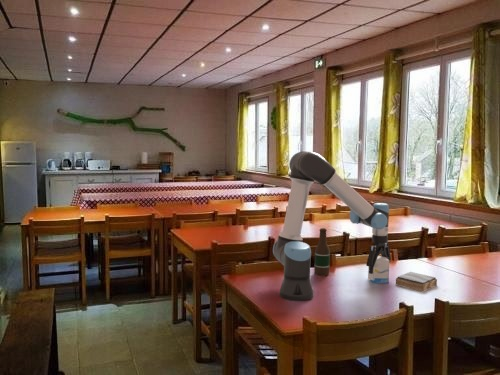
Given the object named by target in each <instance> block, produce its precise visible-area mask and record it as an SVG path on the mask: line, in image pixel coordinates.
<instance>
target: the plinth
mask: <svg viewBox="0 0 500 375" xmlns="http://www.w3.org/2000/svg"><path fill="white" fill-rule="evenodd" d="M437 284H438V279H437V278H436V277H434V276H431V275H426V274H421V273H418V272H413V271H409V272H406V273H404V274H401V275H398V276H397V277H395V286H399V287H404V288H407V289H412V290H414V291H415V290H416V291H420V292H422V291H423V292H425V291H428V290H429V289H432V288H434V287H436V286H437Z"/></svg>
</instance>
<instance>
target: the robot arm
mask: <svg viewBox="0 0 500 375" xmlns="http://www.w3.org/2000/svg"><path fill="white" fill-rule="evenodd" d="M288 165H289V169H290V174H289V180H290V181H291V186H290V191H289V197H288V202H287V208H286V212H285V218H284V222H283V223H284V224H283V227H282V231H281V232H280V233H278V236H277V240H276V241H275V242H274V243H273V247H272V253H273V256H274V258H275V260H277V261H278V263H280V264H281V265H283V280H282V283H281V285H280V289H279V296H280V297H281V298H282V299H285V300H287V301H295V302H303V301H308V300H309V301H310V300H311V299H313V298H314V293H315V292H314V289H313V285H312V281H311V258H312V249H311V246H310V245H309V244H308V243H306V242H303V237H302V235H301V233H302V228H303V223H304V218H305V214H306V208H307V203H308V198H309V193H310V189H311V185H312V184H314V183H315V182H316V183H317V184H319V185H320V186H325V188H327V189H328V190H329V191H330V192H331V193H332V194H333V195H334V196H336V198H337V199H339V200H340V201H341V202H342V203H344V204H345V206H347V207H348V208H349V209H350V211H349V220H350V222H351V223H352V224H357V225H358V224H360V225H361V224H362V225H364V226H368V227H370V228H372V229H371V230H372V235H371V242H372V243H373V245H370V246H369V252H368V256H367V261H366V267H369V279H370V280H373V281H374V278H375V267H374V265H375V262H376V260H377V257H378V256H380V255H381V256H383V257H386V258H387V259H388V260H389V261H390V262H389V264H391V262H392V261H391V260H392V258H391V251H390V244H389V243H388V241H389V236H388V234H389V219H390V206H389V204H388V203H385V202H384V203H383V202H375V203H373V205H372V204H370V202H368V201H367V200H366V199H365V198H364V197H363V196H362V195H361V194H360V193H359V192H358V191H357V190H355V189H354V188H353V187H352V186H351V185H350V184H348V182H346V180H345V179H343V178H342V177H341V176H340V175H339V174H338V173H337V169H336V168H335V167H334V166H333V165H331V163H330V162H328V160H326V159H325V158H324V157H323V156H322V155H321V154H319V153H317V152H315V151H298V152H295V153H294V154H292V157H291V158H290V160H289V164H288ZM369 279H368V280H369ZM370 280H369V281H370Z"/></svg>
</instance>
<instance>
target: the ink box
mask: <svg viewBox="0 0 500 375" xmlns="http://www.w3.org/2000/svg"><path fill="white" fill-rule="evenodd" d="M389 262H390V263H391V261H389V260H388V259H387V258H386V257H383V256H380V255H378V257H377V260H376V262H375V265H374V267H375V278H374V281H373V280H370V279H369V266H367V267H368V271H367V279H368V280H369V281H370V282H371V283H372V284H389V282H390V279H389V278H390V263H389Z"/></svg>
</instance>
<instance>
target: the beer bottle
mask: <svg viewBox="0 0 500 375" xmlns="http://www.w3.org/2000/svg"><path fill="white" fill-rule="evenodd" d="M327 232H328V230H327V228H320V229H319V236H318V237H319V239H318V244H317V245H316V247H315V250H314V268H313V269H314V270H313V271H314V274H315V275H316V276H320V277H326V276H329V275H330V265H331V263H330V262H331V261H330V260H331V252H330V247H329V245H328V243H327Z"/></svg>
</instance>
